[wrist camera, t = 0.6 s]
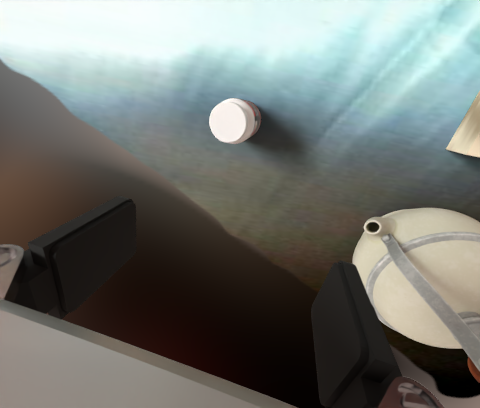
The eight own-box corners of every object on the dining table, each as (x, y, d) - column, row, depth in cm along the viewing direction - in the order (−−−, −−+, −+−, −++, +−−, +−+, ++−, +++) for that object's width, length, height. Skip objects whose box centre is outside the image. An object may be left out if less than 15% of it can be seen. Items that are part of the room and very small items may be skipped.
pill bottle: (267, 107, 34) (258, 107, 25) (254, 143, 36) (242, 154, 27) (232, 94, 34) (212, 89, 25) (222, 130, 36) (200, 137, 28)
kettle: (502, 255, 35) (876, 514, 13) (395, 306, 43) (509, 520, 21) (398, 149, 32) (641, 242, 10) (304, 225, 40) (322, 370, 18)
